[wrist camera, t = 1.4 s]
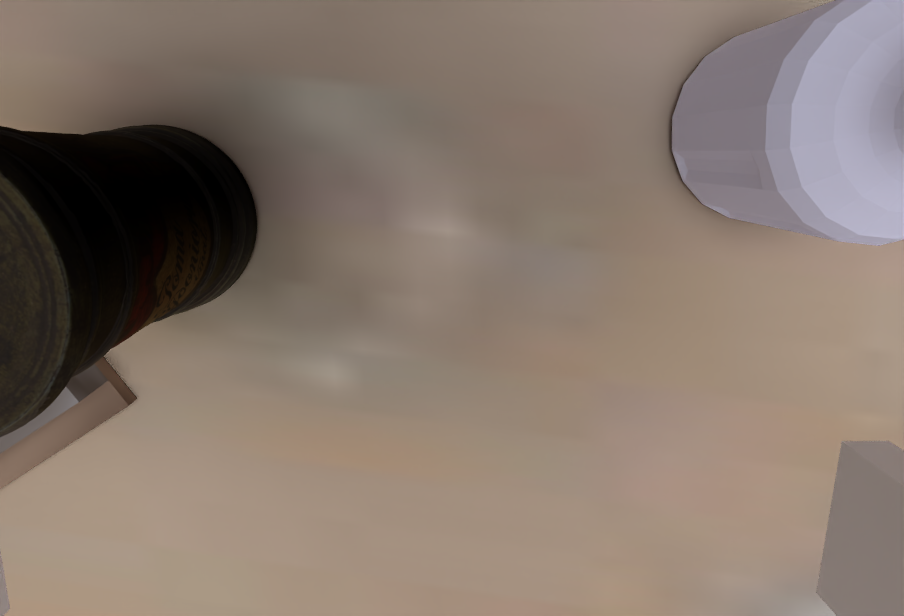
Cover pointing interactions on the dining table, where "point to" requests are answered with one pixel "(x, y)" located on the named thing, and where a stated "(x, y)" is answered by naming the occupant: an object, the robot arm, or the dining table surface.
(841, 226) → the soap bottle
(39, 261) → the container
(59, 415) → the track plinth
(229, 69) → the dining table surface
